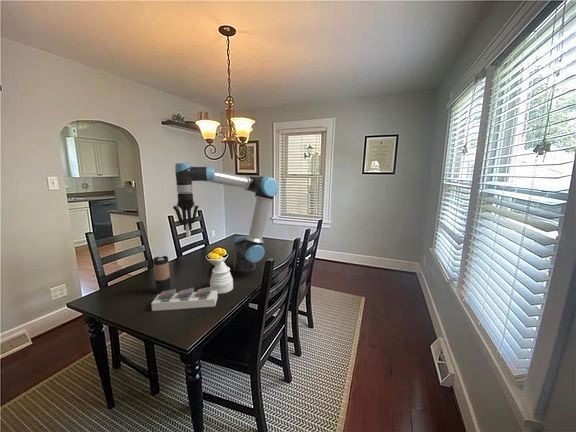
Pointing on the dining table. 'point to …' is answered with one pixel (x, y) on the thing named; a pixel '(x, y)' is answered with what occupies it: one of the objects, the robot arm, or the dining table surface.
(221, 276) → the honey pot
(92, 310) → the dining table surface
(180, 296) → the rocker mid
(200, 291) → the rocker
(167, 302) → the power strip
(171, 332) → the dining table surface
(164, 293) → the rocker
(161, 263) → the travel mug
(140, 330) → the dining table surface
